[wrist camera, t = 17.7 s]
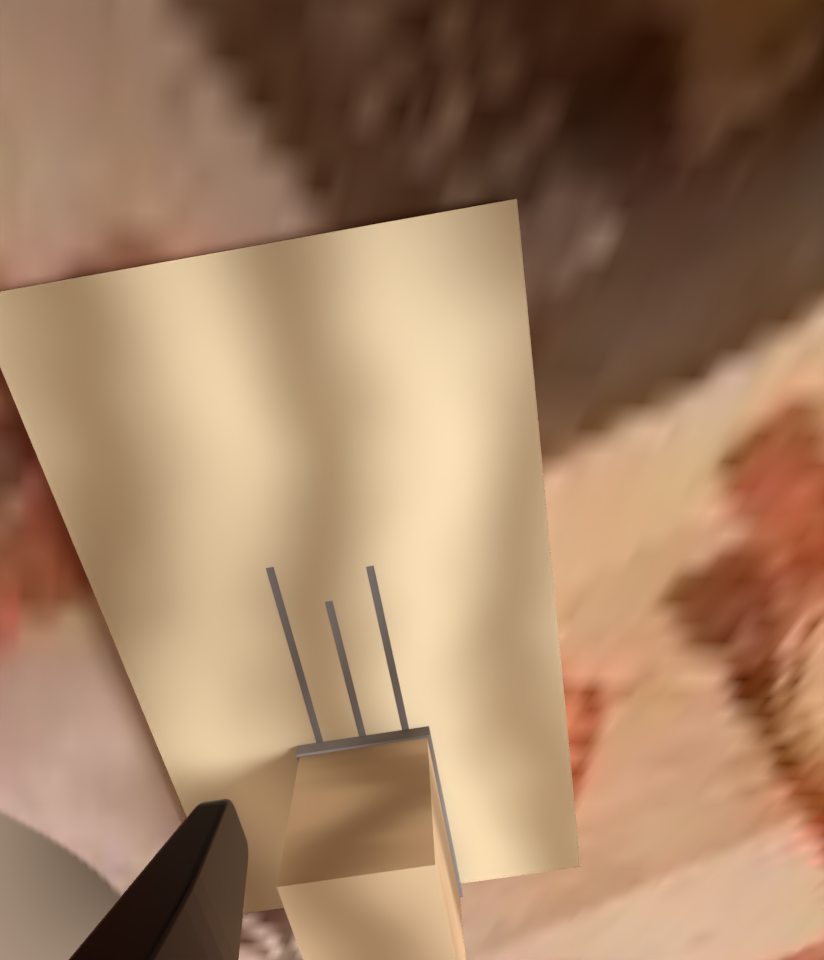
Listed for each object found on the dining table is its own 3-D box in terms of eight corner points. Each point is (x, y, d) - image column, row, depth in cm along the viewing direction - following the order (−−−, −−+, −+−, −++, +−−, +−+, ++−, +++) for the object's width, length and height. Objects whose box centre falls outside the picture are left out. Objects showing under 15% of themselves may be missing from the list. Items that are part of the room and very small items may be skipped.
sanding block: (429, 726, 22) (438, 861, 17) (461, 887, 25) (476, 1038, 20) (297, 745, 22) (272, 885, 18) (346, 902, 25) (335, 1056, 21)
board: (508, 199, 17) (516, 199, 16) (572, 839, 26) (580, 867, 25) (-2, 291, 17) (-30, 296, 16) (234, 886, 27) (227, 915, 25)
